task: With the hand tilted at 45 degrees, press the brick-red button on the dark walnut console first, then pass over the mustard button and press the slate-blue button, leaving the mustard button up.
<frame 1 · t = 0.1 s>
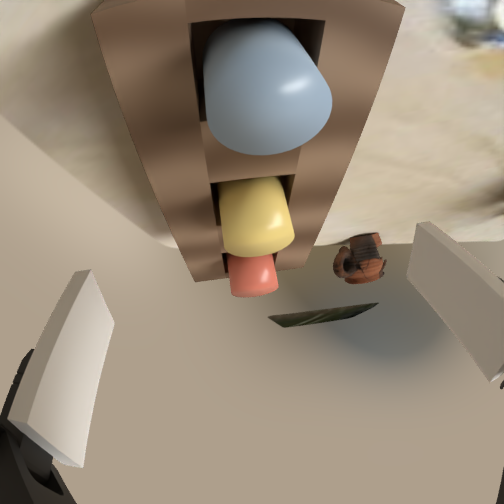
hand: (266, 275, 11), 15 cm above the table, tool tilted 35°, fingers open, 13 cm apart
mustard button: (253, 211, 19), point 9 cm above the table, slide at 0.0 cm
slate button: (260, 79, 10), point 9 cm above the table, slide at 0.0 cm
console: (237, 124, 23), on the table
red button: (251, 267, 28), point 9 cm above the table, slide at 0.0 cm
pottery mug: (353, 243, 51), on the table
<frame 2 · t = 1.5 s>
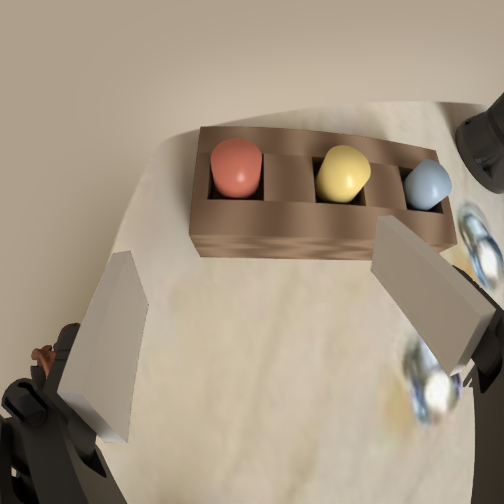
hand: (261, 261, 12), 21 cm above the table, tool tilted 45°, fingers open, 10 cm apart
mustard button: (341, 176, 27), point 9 cm above the table, slide at 0.0 cm
slate button: (425, 187, 27), point 9 cm above the table, slide at 0.0 cm
console: (319, 211, 36), on the table
red button: (236, 171, 27), point 9 cm above the table, slide at 0.0 cm
pottery mug: (82, 368, 30), on the table
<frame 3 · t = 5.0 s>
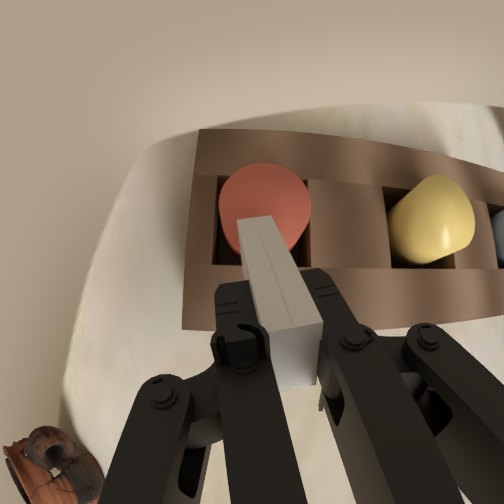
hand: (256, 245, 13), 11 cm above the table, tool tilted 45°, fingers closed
mustard button: (427, 224, 16), point 9 cm above the table, slide at 0.0 cm
console: (372, 257, 24), on the table
red button: (262, 219, 16), point 8 cm above the table, slide at 0.8 cm, touching gripper
pottery mug: (67, 460, 19), on the table
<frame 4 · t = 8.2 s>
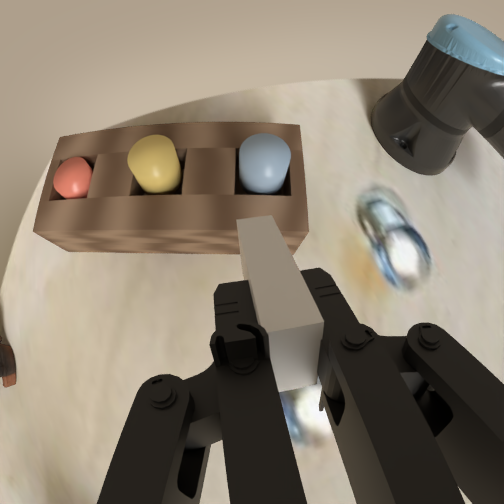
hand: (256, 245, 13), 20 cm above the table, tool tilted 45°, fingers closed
mustard button: (156, 167, 26), point 9 cm above the table, slide at 0.0 cm
slate button: (263, 166, 27), point 9 cm above the table, slide at 0.0 cm
console: (173, 204, 35), on the table
red button: (78, 184, 28), point 6 cm above the table, slide at 2.3 cm
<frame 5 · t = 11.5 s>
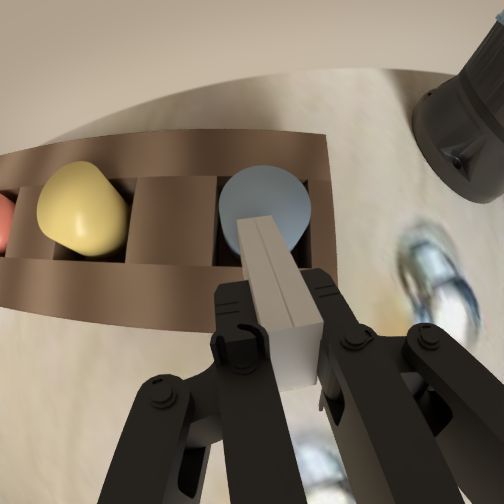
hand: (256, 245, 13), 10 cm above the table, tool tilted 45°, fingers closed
mustard button: (86, 214, 15), point 9 cm above the table, slide at 0.0 cm
slate button: (262, 221, 16), point 8 cm above the table, slide at 1.0 cm, touching gripper
console: (135, 251, 23), on the table
red button: (4, 228, 17), point 6 cm above the table, slide at 2.3 cm
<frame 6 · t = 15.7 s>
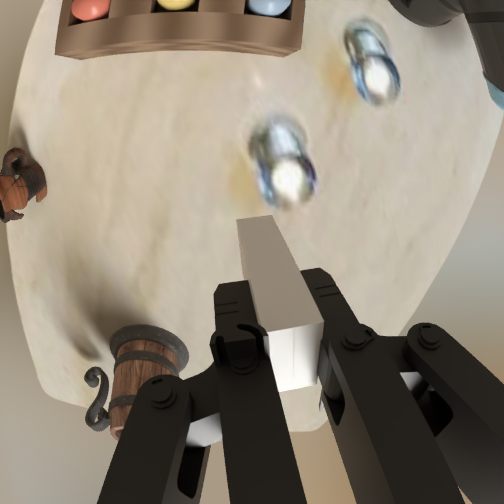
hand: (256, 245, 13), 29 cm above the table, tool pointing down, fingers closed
tankard: (135, 355, 56), on the table
slate button: (267, 1, 24), point 6 cm above the table, slide at 2.3 cm
console: (182, 11, 28), on the table
red button: (95, 6, 21), point 6 cm above the table, slide at 2.3 cm
pottery mug: (25, 177, 35), on the table
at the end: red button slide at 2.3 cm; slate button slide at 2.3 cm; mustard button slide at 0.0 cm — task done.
